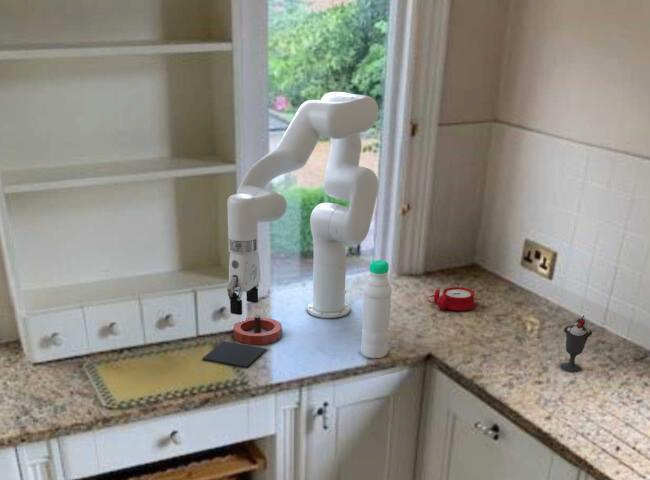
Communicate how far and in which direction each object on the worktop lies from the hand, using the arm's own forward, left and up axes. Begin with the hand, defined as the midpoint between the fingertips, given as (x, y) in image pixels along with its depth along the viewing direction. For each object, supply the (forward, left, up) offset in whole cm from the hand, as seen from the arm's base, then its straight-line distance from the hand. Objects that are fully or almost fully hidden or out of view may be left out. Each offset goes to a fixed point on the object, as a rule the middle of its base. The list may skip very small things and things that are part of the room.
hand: (244, 307), depth 213 cm
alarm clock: (-50, +45, -11) cm, 68 cm away
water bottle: (-8, +34, -11) cm, 37 cm away
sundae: (-19, +83, -11) cm, 86 cm away
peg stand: (-8, 0, -11) cm, 13 cm away
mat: (+7, 0, -11) cm, 13 cm away
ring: (-8, 0, -11) cm, 13 cm away
